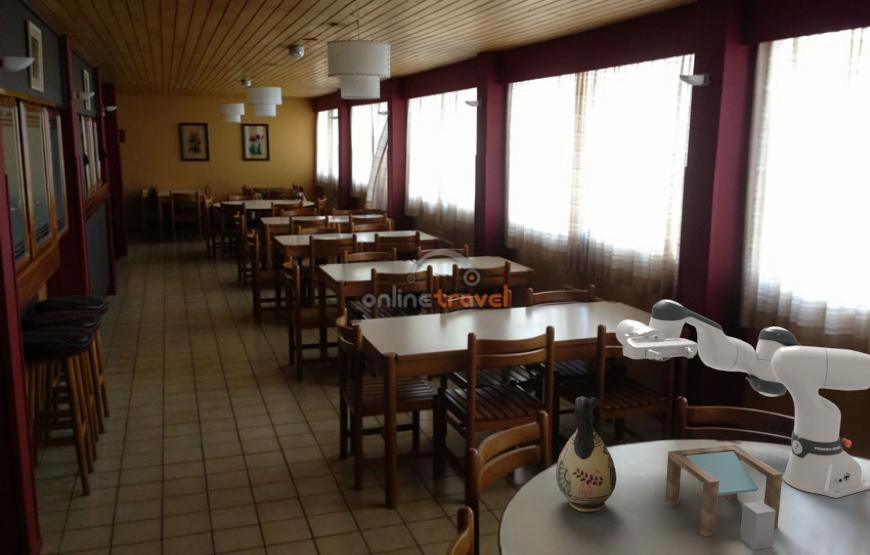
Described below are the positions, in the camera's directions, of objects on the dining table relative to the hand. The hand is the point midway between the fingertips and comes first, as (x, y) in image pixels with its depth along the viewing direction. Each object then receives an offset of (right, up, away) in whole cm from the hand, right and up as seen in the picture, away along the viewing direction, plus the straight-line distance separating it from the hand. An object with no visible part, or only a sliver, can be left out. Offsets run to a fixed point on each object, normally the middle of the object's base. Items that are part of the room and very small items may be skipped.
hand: (675, 356), depth 201 cm
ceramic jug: (-27, -38, -9) cm, 48 cm away
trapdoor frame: (+7, -39, -14) cm, 42 cm away
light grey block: (+10, -32, -29) cm, 45 cm away
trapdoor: (+7, -29, -15) cm, 33 cm away
